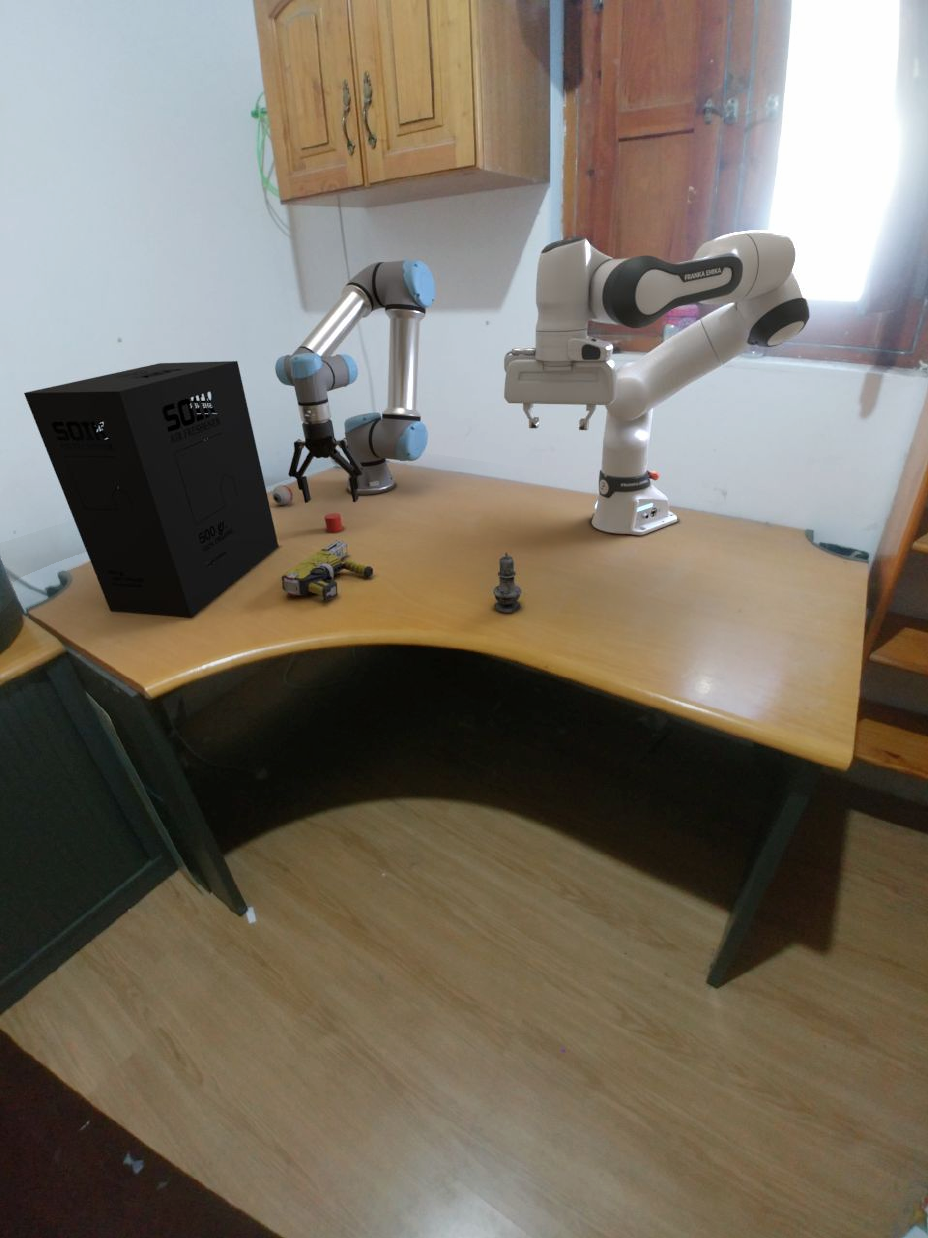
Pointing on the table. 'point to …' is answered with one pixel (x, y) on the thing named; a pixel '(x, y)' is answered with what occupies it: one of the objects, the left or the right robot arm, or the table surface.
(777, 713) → the table surface
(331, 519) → the can
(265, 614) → the table surface
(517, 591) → the dark grey tapered piece
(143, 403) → the cardboard box
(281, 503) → the eyeball
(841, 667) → the table surface
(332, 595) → the toy gun
